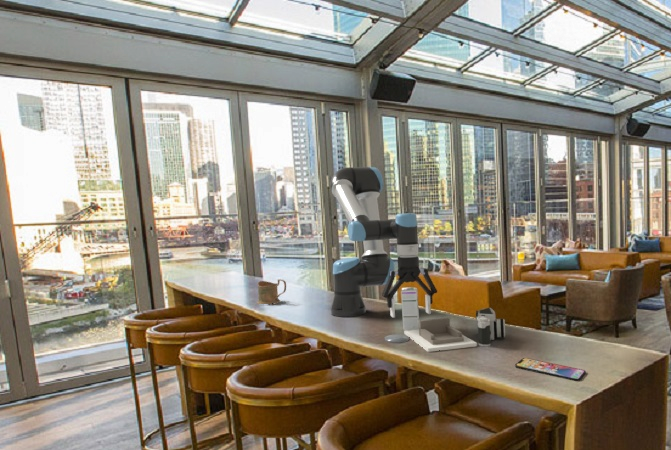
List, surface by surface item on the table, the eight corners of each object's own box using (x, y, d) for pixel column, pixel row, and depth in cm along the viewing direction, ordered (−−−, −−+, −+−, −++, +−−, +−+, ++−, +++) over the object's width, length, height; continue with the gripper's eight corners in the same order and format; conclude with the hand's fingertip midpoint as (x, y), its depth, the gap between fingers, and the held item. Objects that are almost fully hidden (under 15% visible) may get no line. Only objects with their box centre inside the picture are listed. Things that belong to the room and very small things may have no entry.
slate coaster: (381, 338, 138) (381, 335, 138) (403, 335, 139) (403, 333, 139) (389, 345, 130) (389, 342, 130) (412, 342, 132) (412, 340, 132)
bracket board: (404, 333, 141) (403, 316, 140) (447, 329, 144) (446, 312, 143) (428, 351, 121) (427, 331, 121) (477, 346, 124) (476, 326, 124)
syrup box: (419, 330, 143) (417, 290, 143) (402, 330, 144) (400, 290, 144) (419, 326, 148) (417, 287, 148) (403, 326, 150) (401, 287, 149)
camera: (506, 348, 121) (504, 315, 121) (475, 346, 124) (474, 313, 124) (504, 333, 136) (503, 303, 136) (477, 331, 139) (476, 302, 139)
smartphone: (579, 380, 96) (513, 365, 106) (579, 383, 96) (513, 368, 106) (586, 370, 101) (523, 357, 111) (586, 374, 101) (524, 360, 111)
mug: (278, 306, 194) (277, 281, 193) (252, 303, 203) (250, 280, 203) (293, 301, 203) (292, 278, 203) (267, 299, 213) (266, 276, 213)
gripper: (377, 259, 140) (380, 320, 140) (444, 254, 144) (447, 313, 145) (371, 257, 147) (374, 315, 147) (435, 253, 152) (438, 309, 152)
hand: (410, 314), depth 146 cm, fingers open, 13 cm apart
